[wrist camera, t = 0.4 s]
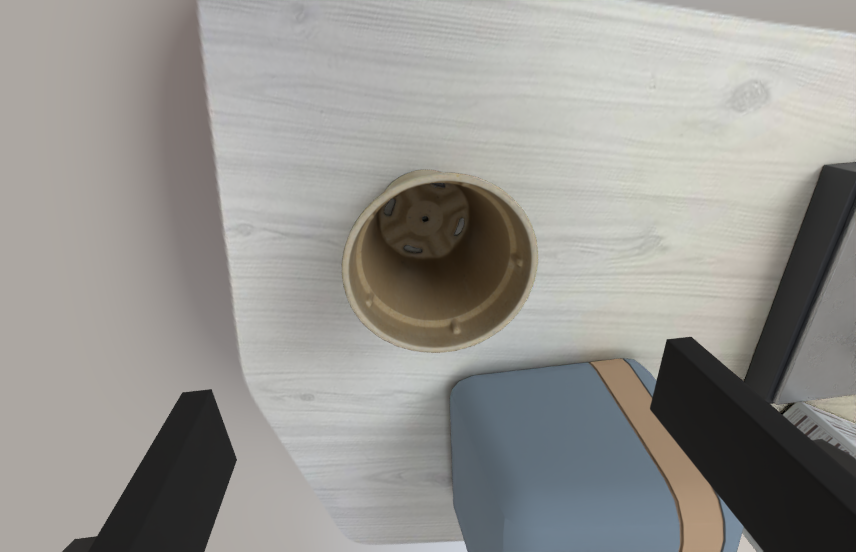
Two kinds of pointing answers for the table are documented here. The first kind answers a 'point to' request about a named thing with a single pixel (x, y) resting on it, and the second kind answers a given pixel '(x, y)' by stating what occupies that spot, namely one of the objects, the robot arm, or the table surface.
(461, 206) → the flower pot
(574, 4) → the table surface
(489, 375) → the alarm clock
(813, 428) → the supplement box
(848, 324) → the scale
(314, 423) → the table surface
